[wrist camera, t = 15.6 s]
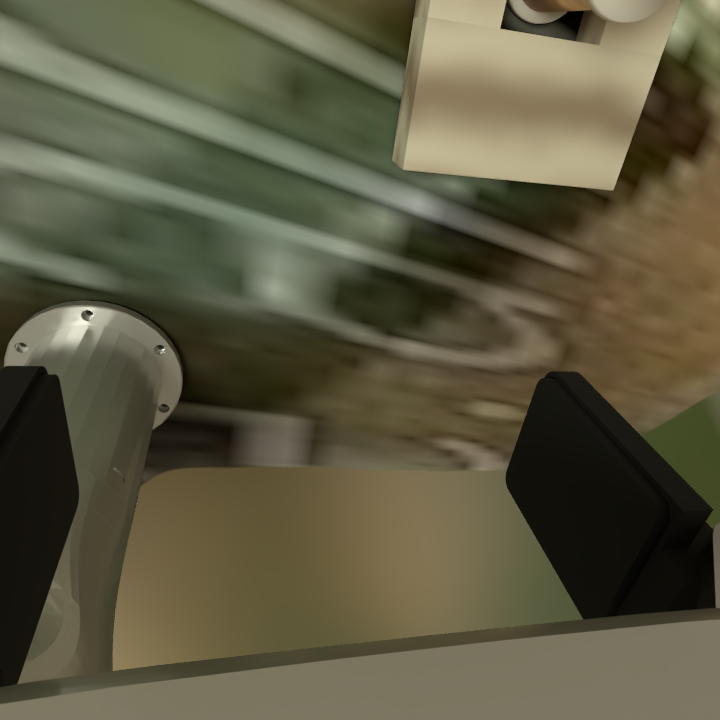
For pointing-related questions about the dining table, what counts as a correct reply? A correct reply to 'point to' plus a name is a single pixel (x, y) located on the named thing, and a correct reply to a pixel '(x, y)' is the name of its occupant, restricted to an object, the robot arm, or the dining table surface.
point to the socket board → (524, 95)
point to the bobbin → (611, 3)
